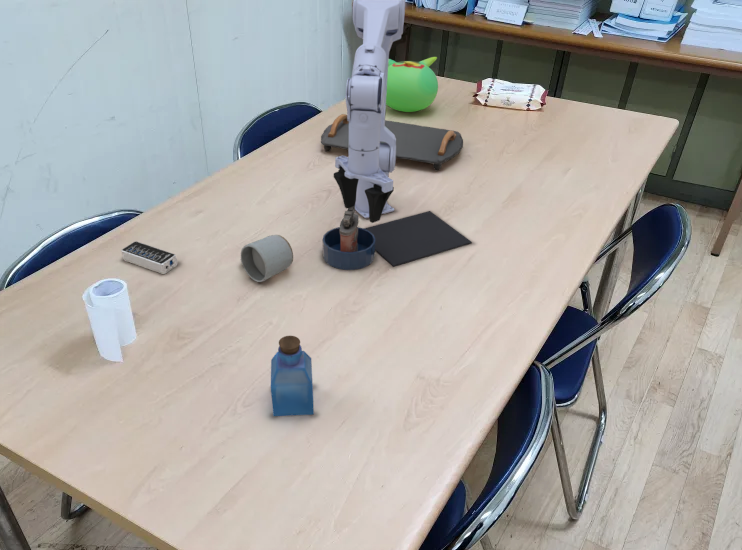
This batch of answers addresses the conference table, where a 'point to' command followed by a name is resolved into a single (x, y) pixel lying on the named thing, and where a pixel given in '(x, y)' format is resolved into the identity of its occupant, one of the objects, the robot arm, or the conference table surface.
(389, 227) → the desk mat
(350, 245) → the lighter
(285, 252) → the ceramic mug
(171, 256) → the multiport hub
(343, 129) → the serving tray
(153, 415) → the conference table surface
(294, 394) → the perfume bottle
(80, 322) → the conference table surface
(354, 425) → the conference table surface
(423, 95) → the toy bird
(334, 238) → the blue round dish
